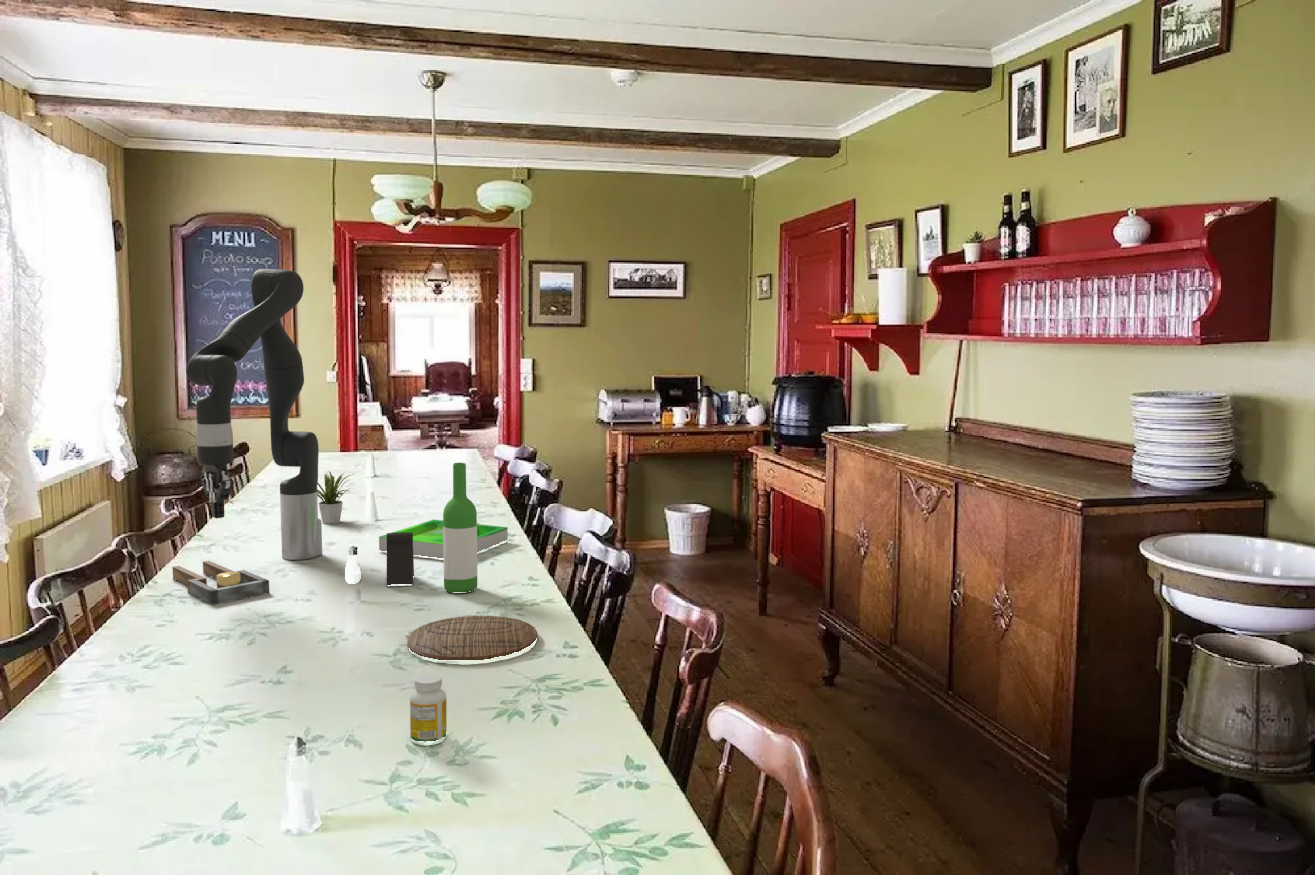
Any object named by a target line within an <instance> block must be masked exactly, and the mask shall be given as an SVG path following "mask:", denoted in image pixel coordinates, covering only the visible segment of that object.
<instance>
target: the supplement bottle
mask: <svg viewBox="0 0 1315 875" xmlns="http://www.w3.org/2000/svg"><path fill="white" fill-rule="evenodd" d="M413 686H414V689H415V690H414V691H412V692H411V694H410V697H409V716H410V717H409V718H410V719H409V720H410V723H409V724H410V726H409V728H410V730H409V731H410V739H411V738H412V739H413V740H415V741H425V742H426V741H436V740H439V739H441V738H442V737H445V736H446V732H447V731H448V730H447V726H448V725H447V720H448V719H447V714H448V713H447V706H448V704H447V692H446V691H445V690H444V688H442V686H443V677H442V675H440V674H436V673H423V674H419V675H418V676H417V675H416V677H414V685H413ZM447 733H448V732H447ZM446 737H447V736H446Z"/></svg>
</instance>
